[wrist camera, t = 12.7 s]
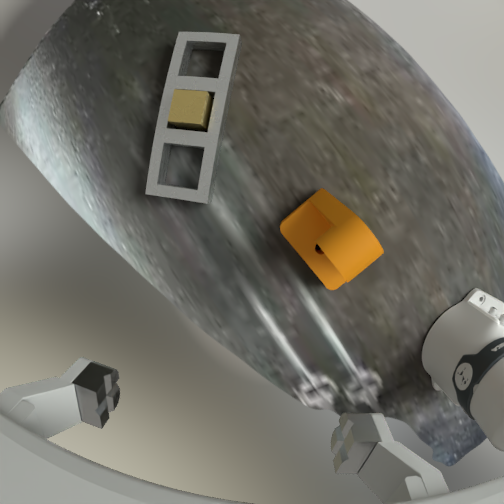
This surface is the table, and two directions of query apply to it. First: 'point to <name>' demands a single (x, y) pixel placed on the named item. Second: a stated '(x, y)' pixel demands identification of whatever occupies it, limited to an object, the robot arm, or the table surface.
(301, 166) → the table surface
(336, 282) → the bracket
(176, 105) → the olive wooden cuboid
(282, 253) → the table surface
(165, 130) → the grey rectangular frame
